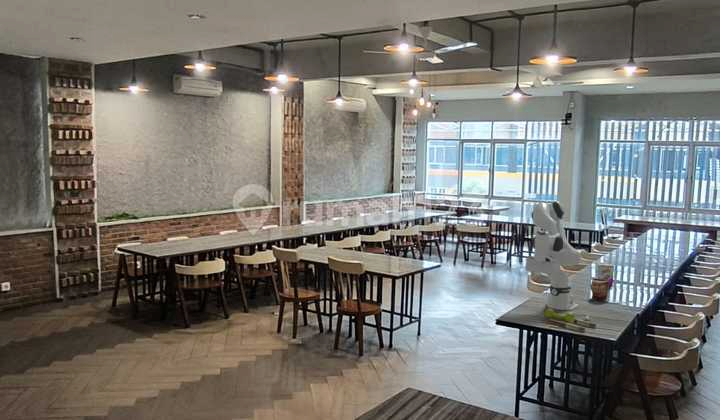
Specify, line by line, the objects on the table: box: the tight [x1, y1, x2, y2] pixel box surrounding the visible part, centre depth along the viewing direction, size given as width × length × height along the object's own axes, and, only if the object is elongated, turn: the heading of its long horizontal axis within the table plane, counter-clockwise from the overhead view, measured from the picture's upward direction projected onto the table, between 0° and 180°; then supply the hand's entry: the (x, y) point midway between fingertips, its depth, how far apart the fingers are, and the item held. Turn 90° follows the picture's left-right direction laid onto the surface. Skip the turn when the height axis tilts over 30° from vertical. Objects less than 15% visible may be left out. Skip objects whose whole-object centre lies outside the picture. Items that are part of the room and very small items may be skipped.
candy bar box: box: [596, 263, 615, 287], centre depth 446 cm, size 11×5×16 cm, turn 72°
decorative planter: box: [590, 278, 610, 302], centre depth 404 cm, size 20×12×14 cm, turn 150°
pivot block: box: [582, 315, 591, 322], centre depth 344 cm, size 3×3×4 cm
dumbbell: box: [544, 307, 576, 325], centre depth 346 cm, size 16×8×7 cm, turn 49°
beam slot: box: [542, 317, 597, 333], centre depth 342 cm, size 14×26×2 cm, turn 41°
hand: (540, 279), depth 354 cm, fingers open, 8 cm apart
